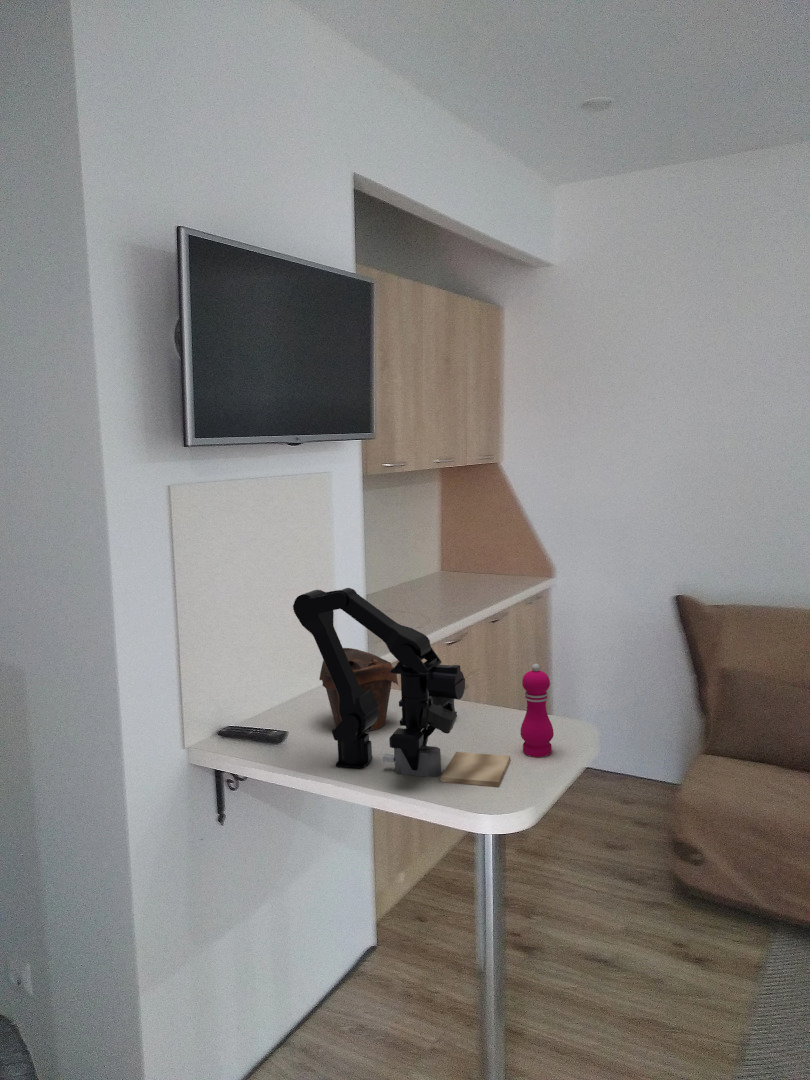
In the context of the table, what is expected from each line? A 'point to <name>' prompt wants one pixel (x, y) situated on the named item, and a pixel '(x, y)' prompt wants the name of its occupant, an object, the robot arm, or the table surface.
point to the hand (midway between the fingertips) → (417, 766)
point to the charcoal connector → (426, 766)
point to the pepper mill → (536, 714)
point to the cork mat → (476, 769)
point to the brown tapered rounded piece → (363, 682)
